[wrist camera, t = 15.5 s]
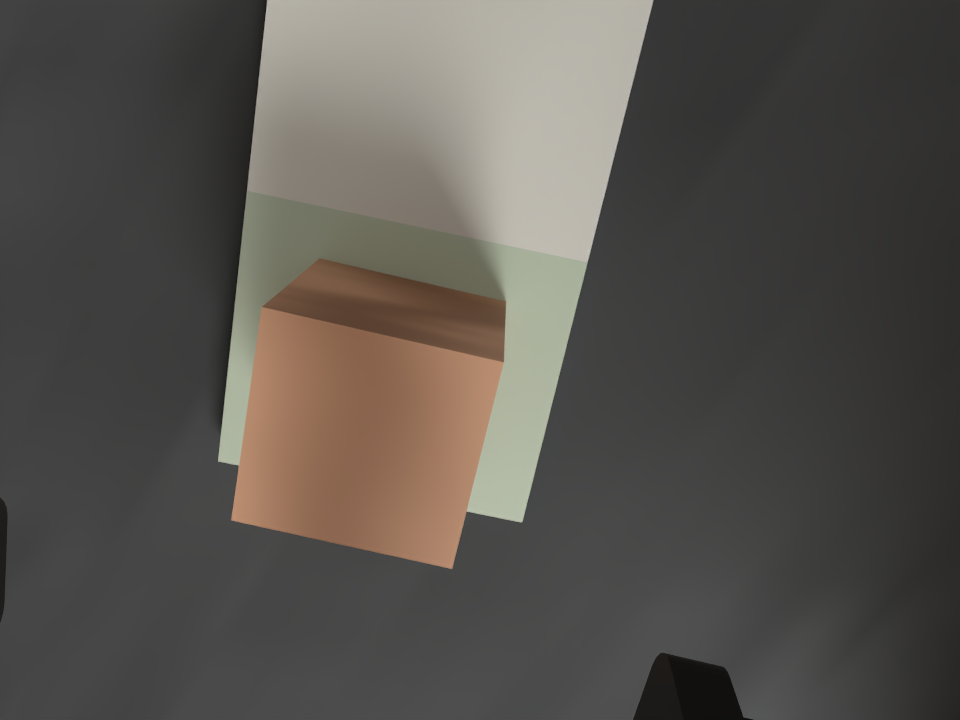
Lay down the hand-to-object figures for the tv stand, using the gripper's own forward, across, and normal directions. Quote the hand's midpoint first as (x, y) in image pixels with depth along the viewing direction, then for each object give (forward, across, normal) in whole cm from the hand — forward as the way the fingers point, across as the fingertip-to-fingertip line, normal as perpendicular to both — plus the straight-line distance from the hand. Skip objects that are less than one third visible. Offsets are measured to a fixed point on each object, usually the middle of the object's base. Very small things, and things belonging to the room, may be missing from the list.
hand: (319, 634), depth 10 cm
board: (+11, +1, -3) cm, 12 cm away
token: (+10, +1, 0) cm, 10 cm away
